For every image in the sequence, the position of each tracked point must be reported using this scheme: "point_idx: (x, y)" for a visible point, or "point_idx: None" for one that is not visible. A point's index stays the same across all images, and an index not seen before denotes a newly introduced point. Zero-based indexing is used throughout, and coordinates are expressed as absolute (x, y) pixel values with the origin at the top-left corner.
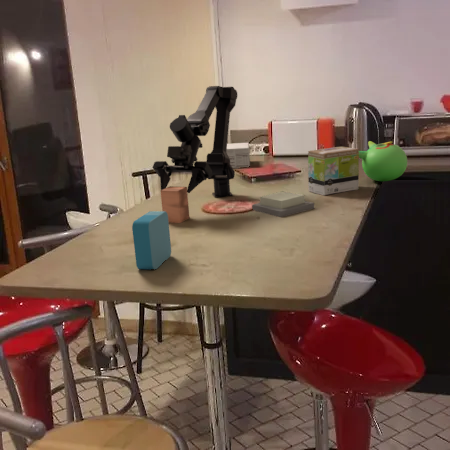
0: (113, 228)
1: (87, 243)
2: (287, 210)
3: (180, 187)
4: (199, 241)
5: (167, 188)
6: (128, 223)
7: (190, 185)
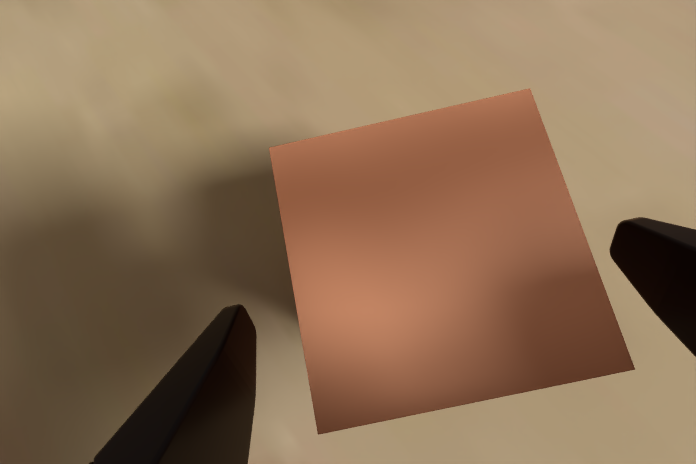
0: (598, 8)
1: None
2: None
3: (384, 350)
4: (57, 36)
5: (537, 222)
6: (610, 104)
7: (168, 373)
